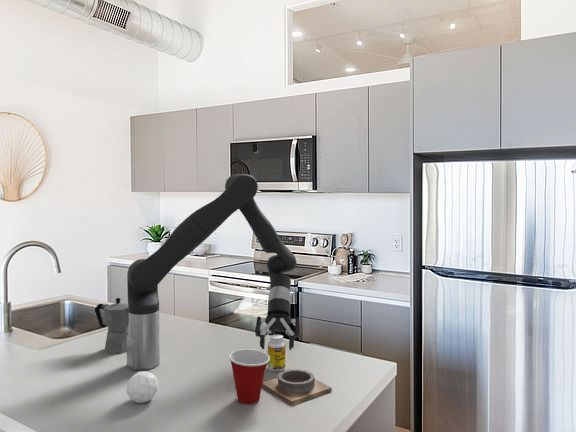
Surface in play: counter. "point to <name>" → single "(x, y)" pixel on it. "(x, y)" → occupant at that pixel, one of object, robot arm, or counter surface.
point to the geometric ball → (142, 387)
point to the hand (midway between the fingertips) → (276, 348)
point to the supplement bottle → (276, 353)
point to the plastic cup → (248, 373)
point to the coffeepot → (115, 325)
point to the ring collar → (296, 386)
